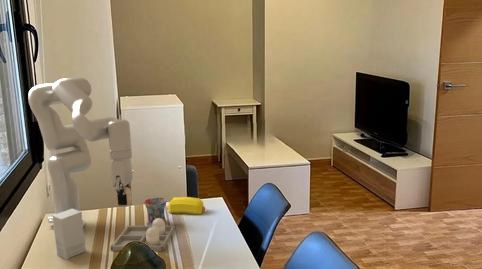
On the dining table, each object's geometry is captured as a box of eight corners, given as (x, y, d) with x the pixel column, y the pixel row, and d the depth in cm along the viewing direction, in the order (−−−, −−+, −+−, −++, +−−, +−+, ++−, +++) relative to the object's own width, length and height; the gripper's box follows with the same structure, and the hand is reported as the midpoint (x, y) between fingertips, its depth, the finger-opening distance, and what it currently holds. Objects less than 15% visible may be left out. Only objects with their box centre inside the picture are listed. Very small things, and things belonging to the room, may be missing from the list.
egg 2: (151, 237, 179) (150, 220, 178) (154, 232, 184) (153, 216, 183) (163, 237, 179) (162, 220, 178) (166, 232, 184) (165, 216, 182)
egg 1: (116, 206, 168) (115, 188, 166) (121, 202, 172) (119, 184, 171) (129, 206, 167) (128, 188, 166) (133, 202, 172) (132, 184, 171)
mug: (164, 230, 187) (162, 205, 185) (142, 229, 189) (140, 204, 187) (172, 219, 199) (171, 195, 197) (152, 218, 200) (150, 195, 198)
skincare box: (77, 247, 174) (72, 207, 171) (86, 251, 169) (82, 211, 166) (56, 255, 167) (51, 214, 164) (65, 260, 163) (61, 218, 160)
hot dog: (203, 216, 202) (207, 210, 209) (202, 201, 200) (207, 196, 208) (164, 214, 205) (170, 208, 212) (163, 200, 204) (169, 194, 211)
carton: (111, 252, 168) (110, 246, 168) (127, 230, 187) (127, 225, 187) (163, 252, 167) (163, 246, 167) (174, 230, 186) (174, 225, 186)
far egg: (145, 247, 170) (143, 230, 169) (148, 242, 175) (147, 225, 173) (157, 247, 170) (156, 230, 168) (161, 242, 174) (159, 225, 173)
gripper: (118, 149, 175) (122, 195, 178) (102, 160, 158) (106, 210, 162) (138, 148, 174) (141, 194, 178) (123, 159, 158) (127, 210, 161)
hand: (125, 201), depth 170 cm, fingers closed on egg 1, 4 cm apart
